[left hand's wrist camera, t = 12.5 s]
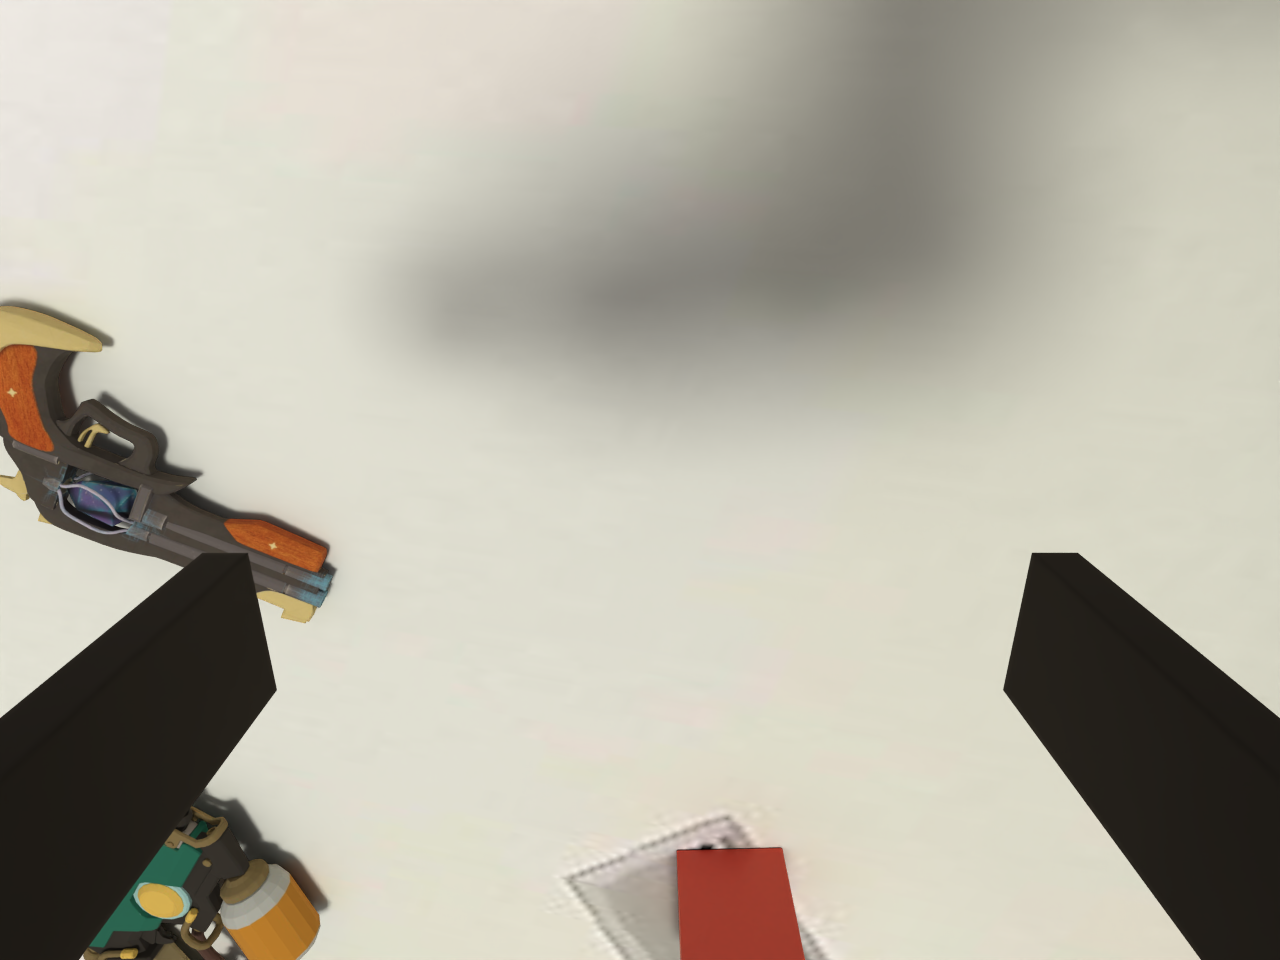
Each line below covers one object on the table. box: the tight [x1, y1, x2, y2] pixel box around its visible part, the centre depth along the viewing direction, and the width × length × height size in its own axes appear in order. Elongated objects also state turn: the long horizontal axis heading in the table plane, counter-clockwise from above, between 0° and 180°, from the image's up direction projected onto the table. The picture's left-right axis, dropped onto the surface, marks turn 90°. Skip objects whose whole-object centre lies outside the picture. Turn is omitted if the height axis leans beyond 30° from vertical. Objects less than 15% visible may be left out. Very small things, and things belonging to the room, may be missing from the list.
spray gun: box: [83, 806, 320, 960], centre depth 47 cm, size 4×17×15 cm
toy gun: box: [0, 306, 333, 623], centre depth 37 cm, size 3×19×10 cm
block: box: [677, 848, 805, 960], centre depth 45 cm, size 7×7×8 cm
